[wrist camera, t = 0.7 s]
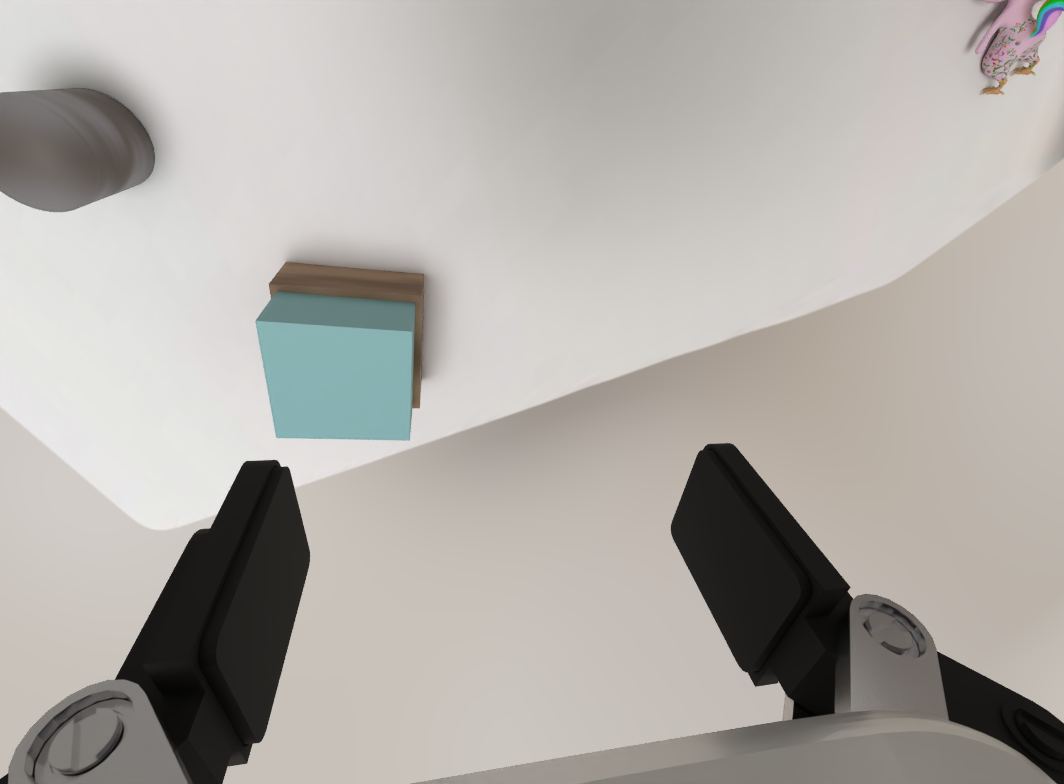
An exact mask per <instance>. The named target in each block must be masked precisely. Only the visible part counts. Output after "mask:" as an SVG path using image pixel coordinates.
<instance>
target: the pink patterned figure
mask: <svg viewBox="0 0 1064 784" xmlns="http://www.w3.org/2000/svg"><path fill="white" fill-rule="evenodd" d="M983 1H984V2H988V3H996V2H1000V1H1005V0H983ZM1038 1H1040V0H1009V1H1008V4H1007V5H1006V7H1005V8H1004V10H1003V11H1002V13H1001V14H1000V15H999V16H998V18H997V19H996V20H995V21H994V23H993V24H992V25H991V27H990V28H989V30H988V31H987V33H986V34H985V36H984V37H983V39H982V40H981V42H980V43H979V45H978V46H977V48H976V51H975V52H976V54H980V53H982V52H983V51H984V50H985V48H986V46H987V44H988V42H989V40H990V38H991V37H992V36H993V34H994V33H995V32H996V31H997V29H998V28H999V33H998V35H997V36H996V38H995V39H994V41H993V43H992V45H991V46H990V48H989V50H988V52H987V53H986V55H985V57H984V59H983V62H982V70H983V72H984V73H985V74H986V75H988V76H990V77H992V78H993V79H995V80H997V81H998V82H999V83H1000V84H999V86H998V87H997V88H995V87H994V86H993V87H992V88H985V89H983V91H984V90H987V92H983V93H982V95H983V94H984V93H986V94H999V93H1001V94H1002V95H1004V93H1003V92H1002V91H1000V89H1001V88H1002V87H1003V85H1004V84H1006V82H1007V73H1008V72H1009V69H1010V67H1011V66H1012V64H1013V63H1014V62H1015V61H1024V62H1028V63H1030V65H1029V67H1028V68H1026V67H1024V66H1023V67H1022V68H1019V69H1018V68H1016V69H1014V71H1015V70H1017V72H1015V73H1013V74H1012V75H1014V74H1026V75H1028V74H1030V73H1032V74H1033V75H1035V73H1034V72H1032V71H1031V69H1032V68H1033V67H1034V66H1035V65H1036V64H1037V63H1038V62H1039V60H1040V59H1039V57H1038V47H1039V45H1040V44H1041V43H1042V42H1043V40H1044V39H1045V36H1046V31H1047V30H1048V29H1049V28H1050V27H1052V25H1053V24H1054V23H1055V22H1056V21H1057V19H1058V18H1059V16H1060V14H1061V13H1062V11H1064V0H1047V1H1046V2H1045V3H1044V4H1043V5H1042V7H1041V8H1040V10H1039V13H1038V15H1037V20H1036V19H1034V18H1033V17H1032V14H1031V12H1032V8H1033V6H1034V5H1035V3H1036V2H1038ZM1012 75H1011V76H1012Z"/></svg>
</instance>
